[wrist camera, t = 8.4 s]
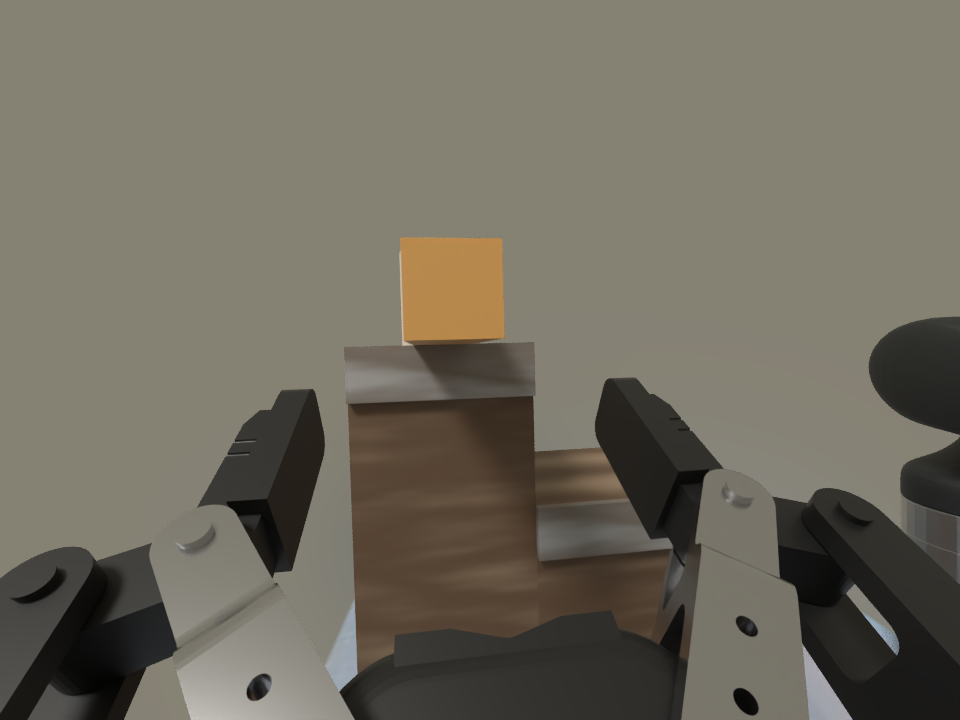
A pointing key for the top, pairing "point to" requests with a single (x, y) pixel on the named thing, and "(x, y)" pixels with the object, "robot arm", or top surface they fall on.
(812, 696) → the top surface
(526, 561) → the rail stand
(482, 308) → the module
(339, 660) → the top surface
